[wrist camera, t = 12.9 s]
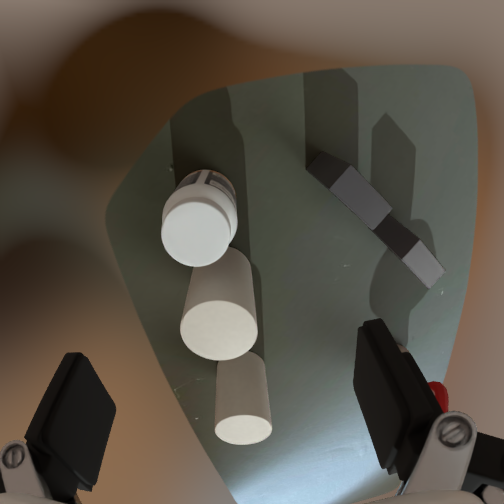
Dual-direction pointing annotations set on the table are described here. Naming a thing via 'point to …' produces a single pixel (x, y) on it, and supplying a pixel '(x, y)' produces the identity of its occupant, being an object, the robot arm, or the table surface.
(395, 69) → the table surface
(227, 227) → the pill bottle
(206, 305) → the white cylinder
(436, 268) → the dark grey rectangular block
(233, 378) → the white cylinder
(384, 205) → the dark grey block
